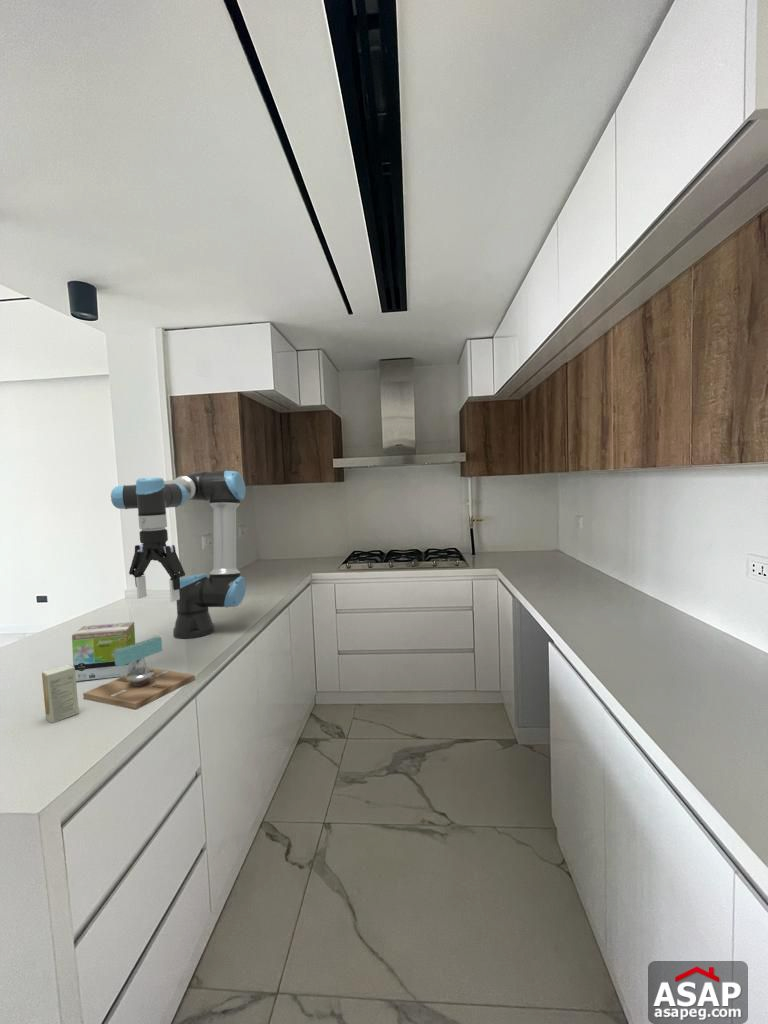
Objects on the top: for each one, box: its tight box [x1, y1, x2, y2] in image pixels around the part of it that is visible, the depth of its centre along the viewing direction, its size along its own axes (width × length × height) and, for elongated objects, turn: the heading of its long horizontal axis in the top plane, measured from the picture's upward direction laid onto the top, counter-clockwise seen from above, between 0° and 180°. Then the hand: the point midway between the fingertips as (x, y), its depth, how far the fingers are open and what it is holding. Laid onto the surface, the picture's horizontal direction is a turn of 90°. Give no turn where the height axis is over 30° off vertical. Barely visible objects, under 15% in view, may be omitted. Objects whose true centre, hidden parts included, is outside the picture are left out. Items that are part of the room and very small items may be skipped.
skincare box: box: [41, 663, 80, 724], centre depth 117 cm, size 6×4×12 cm
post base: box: [82, 666, 196, 710], centre depth 133 cm, size 20×20×3 cm
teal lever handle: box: [114, 634, 163, 682], centre depth 133 cm, size 7×13×10 cm, turn 155°
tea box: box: [71, 621, 136, 683], centre depth 145 cm, size 15×10×15 cm, turn 105°
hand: (158, 599), depth 141 cm, fingers open, 13 cm apart
